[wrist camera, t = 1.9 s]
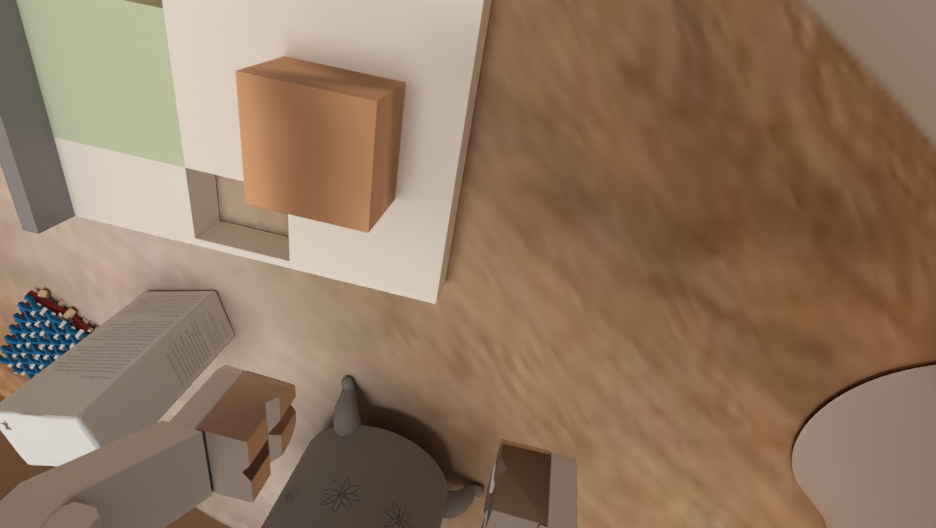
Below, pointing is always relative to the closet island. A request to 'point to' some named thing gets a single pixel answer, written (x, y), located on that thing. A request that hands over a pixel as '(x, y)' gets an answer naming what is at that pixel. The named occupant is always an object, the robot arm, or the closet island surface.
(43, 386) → the skincare box
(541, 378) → the closet island surface
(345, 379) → the mug
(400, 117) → the block
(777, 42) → the closet island surface
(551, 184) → the closet island surface
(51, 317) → the woven mat
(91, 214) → the trap deck
